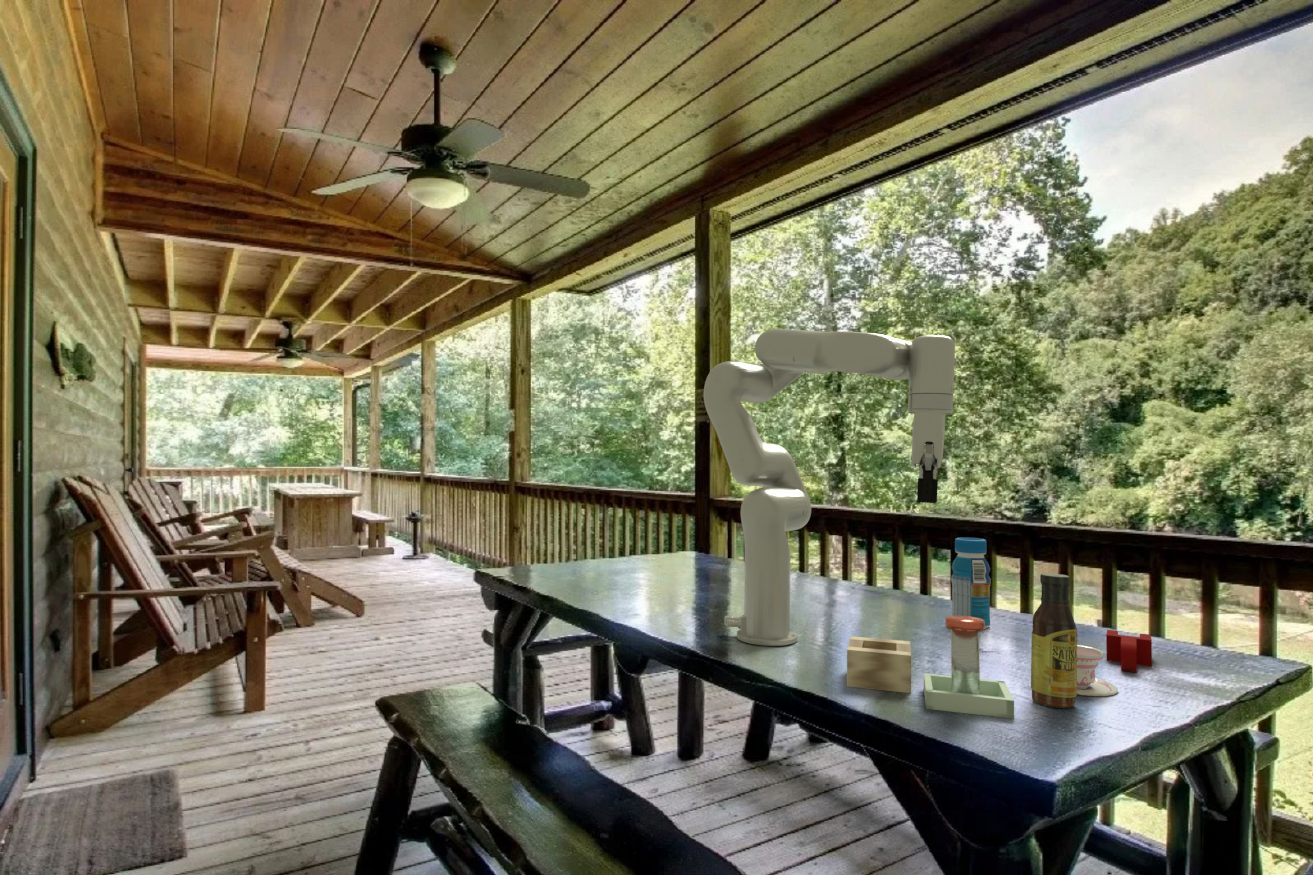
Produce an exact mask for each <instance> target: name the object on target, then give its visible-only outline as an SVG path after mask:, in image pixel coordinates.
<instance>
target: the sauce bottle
mask: <svg viewBox="0 0 1313 875" xmlns="http://www.w3.org/2000/svg"><path fill="white" fill-rule="evenodd" d="M1039 578H1040V581H1039V582H1040V585H1041V596H1040V602H1041V603H1040V604H1039V606H1038V608H1037V609H1036V611H1035V612H1034V613H1033V616H1032V631H1031V646H1030V647H1031V648H1030V649H1031V655H1030V656H1031V657H1030V659H1031V660H1030V689H1031V699H1032V700H1033V702H1035V703H1036V704H1039V705H1043V706H1045V707H1053V708H1059V709H1069V708H1072V707H1074V706H1075V703H1076V699H1077V696H1078V695H1077V645H1078V628H1077V625H1076V623H1075V622H1076V621H1075V619H1074V617H1073V614H1072V613H1073V612H1072V611H1071V608H1070V605H1069V603H1070V600H1069V587H1070V585H1071V580H1070V576H1069V575H1066V574H1060V573H1059V574H1058V573H1047V572H1046V573H1040V577H1039Z"/></svg>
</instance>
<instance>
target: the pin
mask: <svg viewBox="0 0 1313 875" xmlns="http://www.w3.org/2000/svg"><path fill="white" fill-rule="evenodd" d="M944 620H945V621H944V622H945V628H947V629H950V643H951V644H950V646H951V647H950V653H951V654H950V659H951V662H950V663H951V665H950V666H951V667H950V668H951V676H952V692H956V693H965V694H974V695H980V679H981V678H980V677H981V676H980V632H983V631H985V621H984V620H983V619H980V618H976V617H970V616H952V615H947V616H945V618H944Z"/></svg>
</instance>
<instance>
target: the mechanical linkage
mask: <svg viewBox="0 0 1313 875" xmlns="http://www.w3.org/2000/svg"><path fill="white" fill-rule="evenodd" d="M1105 637H1106V639H1105V641H1106V643H1105V644H1106V661H1108V662H1116V663H1120V670H1121V671H1122V672H1123V671H1125V672H1129V673H1130V672H1131V673H1138V671H1137V670H1138V669H1137V668H1138V667H1137V666H1144V667H1151V668H1152V667H1153V657H1152V656H1153V652H1152V650H1153V649H1152V648H1153V646H1152V645H1153V644H1152V634H1148V633H1147V634H1146V633H1139V636H1131V635H1123V634H1119V631H1118V630H1115V629H1113V630H1112V629H1107V630H1106V636H1105Z"/></svg>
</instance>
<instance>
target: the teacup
mask: <svg viewBox="0 0 1313 875" xmlns="http://www.w3.org/2000/svg"><path fill="white" fill-rule="evenodd" d="M1104 654H1105V653H1104V651H1102V650H1101V649H1099V648H1097V647H1096V648H1095V647H1093V646H1089V645H1082V644H1077V695H1076V696H1078V695H1079V696H1087V697H1088V696H1089V697H1109V696H1114V695H1116V694H1118V693H1119V692H1118V687H1117V686H1116V685H1115V684H1113V683H1110V681H1109V682H1108V681H1106V680H1103V679H1100V678H1096V669H1097V667H1098V666H1099V662H1100V661H1101V660H1102V659H1103V658H1104ZM1089 687H1091V688H1090V689H1089Z"/></svg>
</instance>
